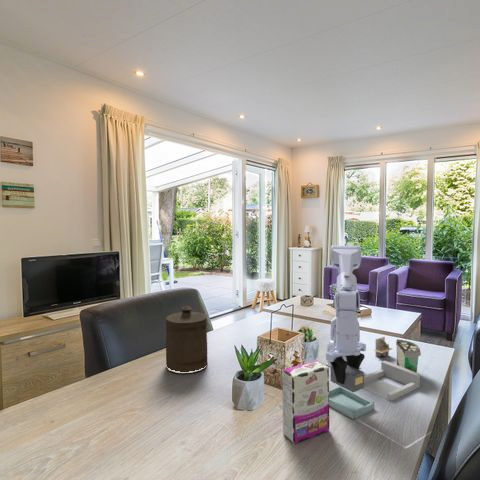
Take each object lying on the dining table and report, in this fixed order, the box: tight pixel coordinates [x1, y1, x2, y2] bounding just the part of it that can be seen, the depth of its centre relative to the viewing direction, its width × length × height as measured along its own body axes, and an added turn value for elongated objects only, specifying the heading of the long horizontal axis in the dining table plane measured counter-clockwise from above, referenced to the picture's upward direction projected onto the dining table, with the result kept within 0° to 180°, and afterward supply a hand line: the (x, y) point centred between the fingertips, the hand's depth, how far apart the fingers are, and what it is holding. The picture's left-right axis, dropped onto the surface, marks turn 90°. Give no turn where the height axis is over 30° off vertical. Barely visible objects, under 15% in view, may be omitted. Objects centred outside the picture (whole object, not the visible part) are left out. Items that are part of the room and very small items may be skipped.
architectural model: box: [373, 336, 393, 358], centre depth 132 cm, size 3×7×7 cm, turn 124°
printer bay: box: [363, 360, 421, 402], centre depth 108 cm, size 12×15×4 cm
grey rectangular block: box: [330, 365, 365, 393], centre depth 97 cm, size 8×4×4 cm, turn 33°
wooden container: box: [165, 305, 208, 372], centre depth 125 cm, size 15×15×22 cm
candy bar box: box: [281, 360, 330, 445], centre depth 85 cm, size 11×5×16 cm, turn 118°
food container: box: [395, 339, 422, 373], centre depth 117 cm, size 12×6×10 cm, turn 168°
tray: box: [329, 385, 375, 421], centre depth 98 cm, size 12×9×2 cm
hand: (346, 380), depth 98 cm, fingers closed on grey rectangular block, 4 cm apart
